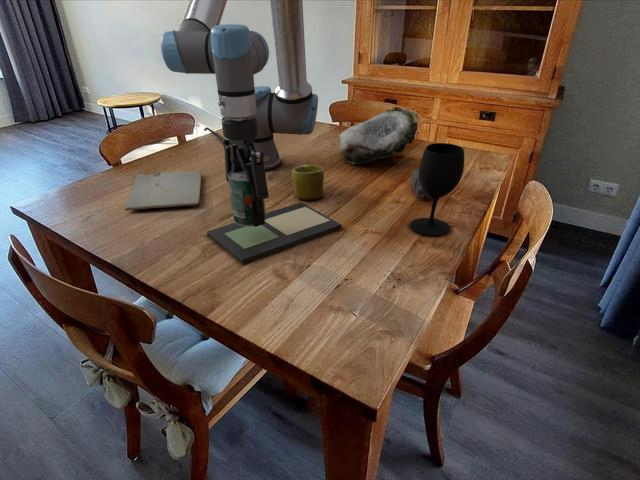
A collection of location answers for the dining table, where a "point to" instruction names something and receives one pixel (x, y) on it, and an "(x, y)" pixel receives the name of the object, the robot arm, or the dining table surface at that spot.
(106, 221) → the dining table surface
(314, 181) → the mug
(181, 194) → the decorative slab
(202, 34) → the robot arm
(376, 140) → the stone basin
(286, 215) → the black board
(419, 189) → the perforated stone tool
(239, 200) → the canned tomato
